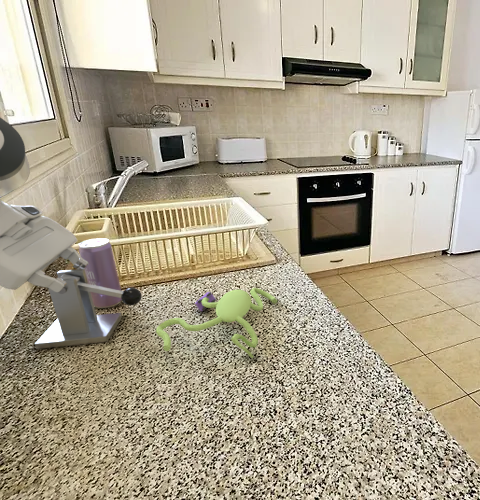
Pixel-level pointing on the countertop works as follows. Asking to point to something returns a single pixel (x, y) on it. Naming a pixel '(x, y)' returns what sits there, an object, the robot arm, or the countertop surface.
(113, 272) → the beverage can
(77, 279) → the faucet lever
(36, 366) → the countertop surface
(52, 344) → the bracket
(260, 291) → the figurine
